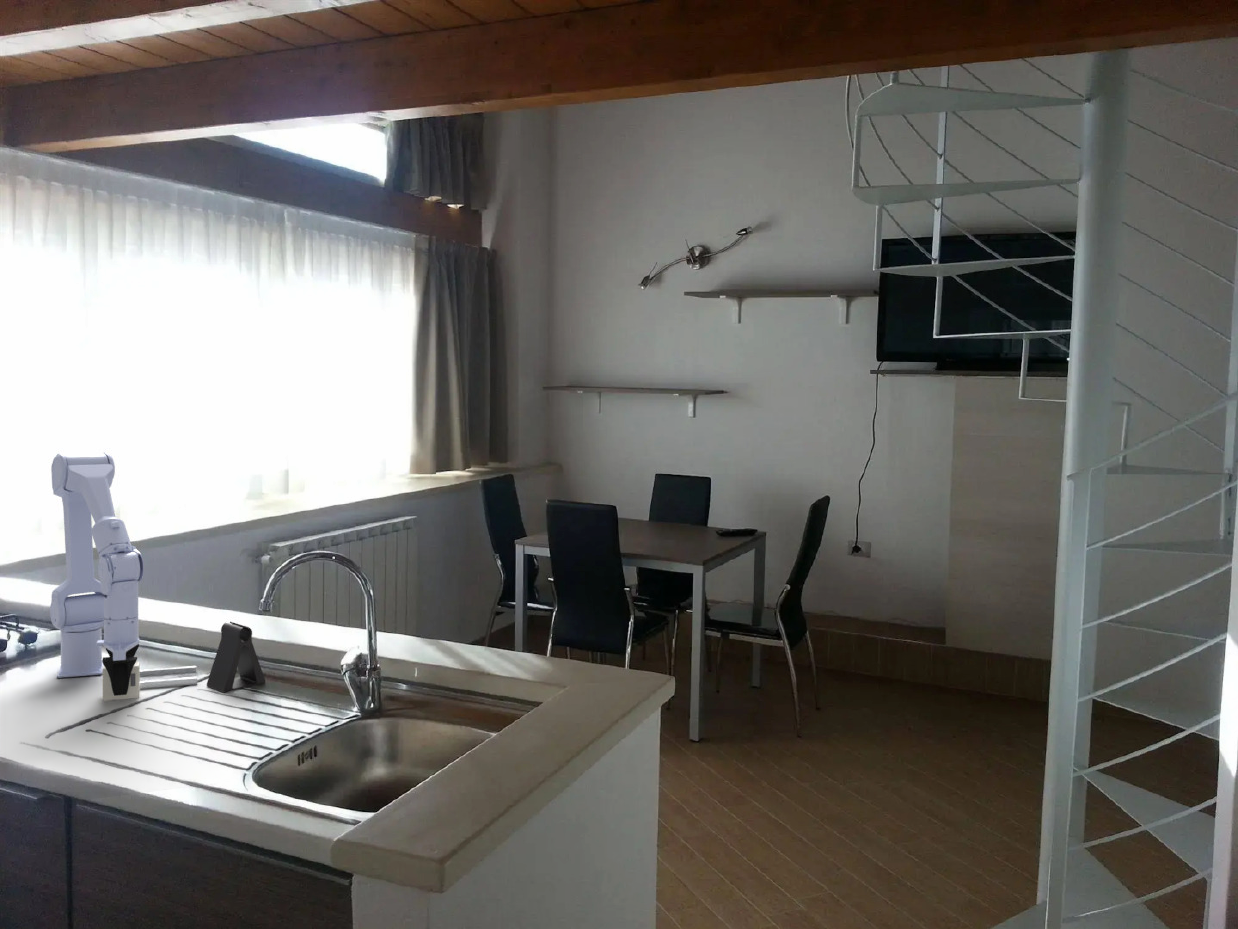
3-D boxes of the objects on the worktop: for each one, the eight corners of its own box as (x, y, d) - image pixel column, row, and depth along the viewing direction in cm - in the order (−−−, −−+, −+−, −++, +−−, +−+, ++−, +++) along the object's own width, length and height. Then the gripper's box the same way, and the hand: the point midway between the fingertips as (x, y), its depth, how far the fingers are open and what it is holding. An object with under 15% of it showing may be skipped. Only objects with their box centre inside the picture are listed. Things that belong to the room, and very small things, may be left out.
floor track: (107, 678, 192) (107, 672, 192) (196, 671, 199) (196, 665, 199) (104, 692, 184) (104, 685, 184) (197, 684, 191) (197, 678, 190)
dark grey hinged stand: (223, 693, 186) (223, 631, 185) (206, 686, 189) (206, 625, 188) (265, 683, 193) (266, 623, 192) (248, 676, 197) (248, 618, 196)
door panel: (103, 695, 182) (103, 664, 182) (139, 692, 185) (139, 661, 184) (102, 701, 179) (102, 669, 179) (139, 697, 182) (138, 666, 181)
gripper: (99, 609, 186) (99, 679, 187) (93, 627, 173) (94, 702, 174) (140, 607, 189) (140, 676, 190) (138, 624, 176) (138, 698, 177)
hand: (121, 688), depth 182 cm, fingers open, 7 cm apart
